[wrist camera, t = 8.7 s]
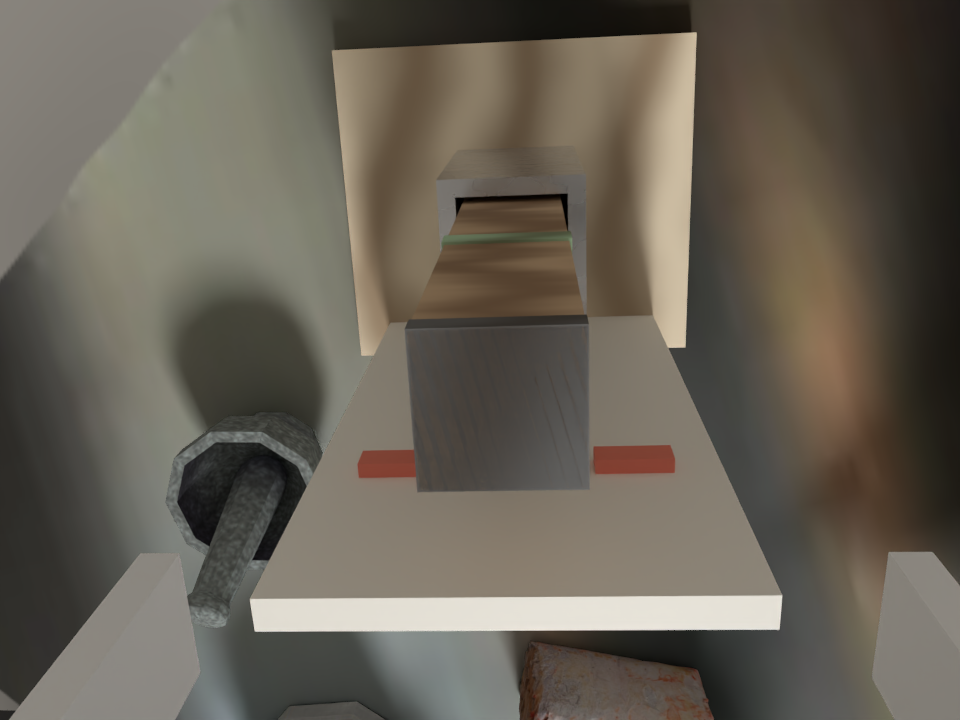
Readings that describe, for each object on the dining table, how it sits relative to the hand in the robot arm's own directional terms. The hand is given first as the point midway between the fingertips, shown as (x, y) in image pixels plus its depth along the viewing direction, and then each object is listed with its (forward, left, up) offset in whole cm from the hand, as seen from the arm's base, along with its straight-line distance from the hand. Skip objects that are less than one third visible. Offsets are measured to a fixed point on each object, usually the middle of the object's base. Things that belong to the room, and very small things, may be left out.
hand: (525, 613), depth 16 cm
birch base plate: (+1, -1, -38) cm, 38 cm away
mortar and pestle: (+18, +16, -39) cm, 45 cm away
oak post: (+1, -1, -30) cm, 30 cm away
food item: (-5, +34, -39) cm, 52 cm away
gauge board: (+1, +6, -37) cm, 37 cm away
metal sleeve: (+1, -1, -37) cm, 37 cm away
